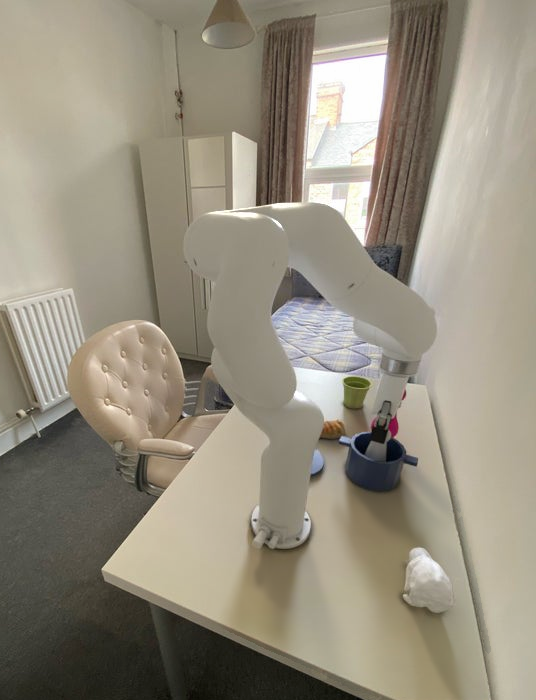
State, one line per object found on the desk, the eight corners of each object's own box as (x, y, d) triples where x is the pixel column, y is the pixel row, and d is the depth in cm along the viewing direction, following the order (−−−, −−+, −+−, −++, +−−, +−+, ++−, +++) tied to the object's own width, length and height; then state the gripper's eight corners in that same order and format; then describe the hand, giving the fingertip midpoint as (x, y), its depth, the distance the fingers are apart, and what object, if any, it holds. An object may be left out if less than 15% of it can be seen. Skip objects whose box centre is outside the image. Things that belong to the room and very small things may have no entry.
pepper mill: (398, 440, 97) (416, 378, 87) (388, 451, 93) (406, 387, 83) (374, 430, 102) (388, 370, 92) (363, 440, 97) (378, 379, 87)
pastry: (317, 442, 96) (319, 431, 95) (308, 429, 102) (309, 419, 100) (347, 437, 98) (349, 427, 96) (336, 425, 104) (337, 415, 102)
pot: (406, 502, 76) (416, 474, 72) (329, 476, 84) (334, 449, 80) (411, 470, 86) (420, 443, 82) (341, 449, 94) (346, 424, 89)
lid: (314, 486, 81) (316, 468, 78) (263, 467, 87) (264, 450, 84) (329, 454, 91) (332, 438, 89) (283, 440, 97) (284, 424, 95)
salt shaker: (386, 469, 86) (398, 427, 79) (381, 482, 81) (393, 439, 75) (362, 461, 88) (372, 420, 82) (356, 474, 84) (366, 431, 78)
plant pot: (335, 406, 114) (338, 384, 110) (342, 395, 121) (346, 373, 116) (363, 414, 110) (368, 391, 105) (369, 402, 116) (374, 379, 112)
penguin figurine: (416, 580, 51) (407, 525, 62) (403, 616, 55) (396, 558, 65) (462, 594, 49) (445, 534, 60) (446, 629, 53) (432, 568, 63)
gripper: (386, 348, 78) (370, 411, 86) (373, 373, 65) (355, 445, 73) (421, 354, 75) (401, 419, 83) (415, 382, 62) (392, 456, 70)
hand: (380, 431), depth 78 cm, fingers open, 9 cm apart
